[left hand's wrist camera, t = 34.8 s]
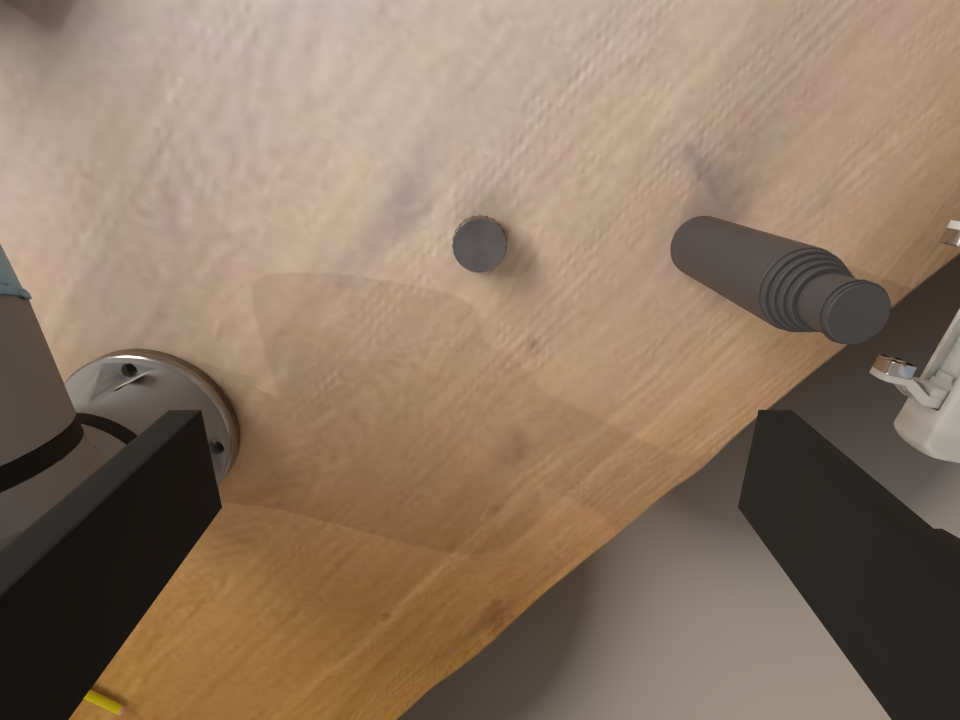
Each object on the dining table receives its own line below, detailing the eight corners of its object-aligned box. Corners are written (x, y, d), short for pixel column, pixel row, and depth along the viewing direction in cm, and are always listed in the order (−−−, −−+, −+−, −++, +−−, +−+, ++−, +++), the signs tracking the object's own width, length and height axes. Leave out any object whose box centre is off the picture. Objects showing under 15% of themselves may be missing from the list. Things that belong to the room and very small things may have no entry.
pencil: (127, 704, 63) (122, 712, 62) (123, 709, 63) (118, 717, 62) (-12, 638, 59) (-20, 646, 58) (-16, 644, 59) (-24, 651, 58)
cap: (501, 210, 42) (502, 212, 41) (510, 262, 44) (511, 267, 42) (448, 220, 43) (446, 223, 41) (459, 272, 44) (458, 277, 42)
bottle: (741, 235, 43) (933, 298, 25) (703, 285, 45) (858, 379, 26) (695, 204, 42) (859, 245, 24) (658, 256, 44) (785, 331, 25)
